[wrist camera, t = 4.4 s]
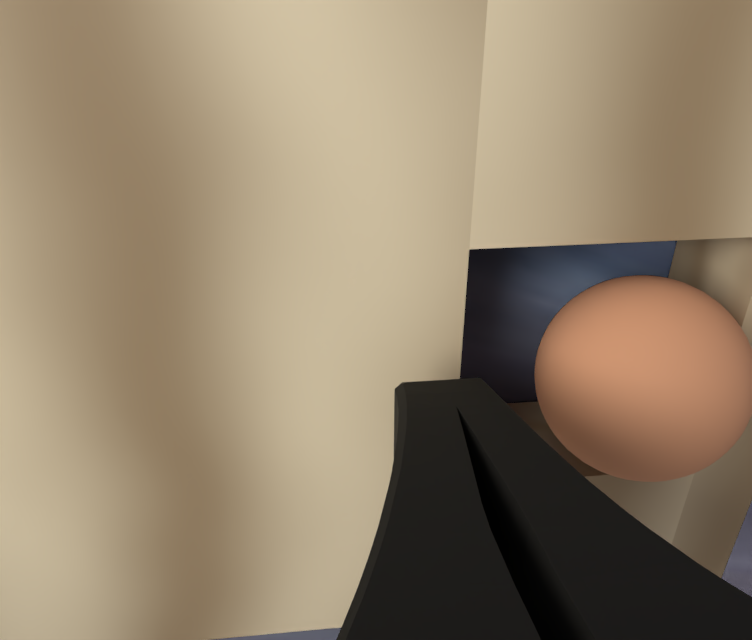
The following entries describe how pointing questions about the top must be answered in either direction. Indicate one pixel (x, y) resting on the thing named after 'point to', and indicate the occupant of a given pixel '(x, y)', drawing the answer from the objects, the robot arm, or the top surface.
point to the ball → (645, 378)
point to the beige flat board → (314, 272)
